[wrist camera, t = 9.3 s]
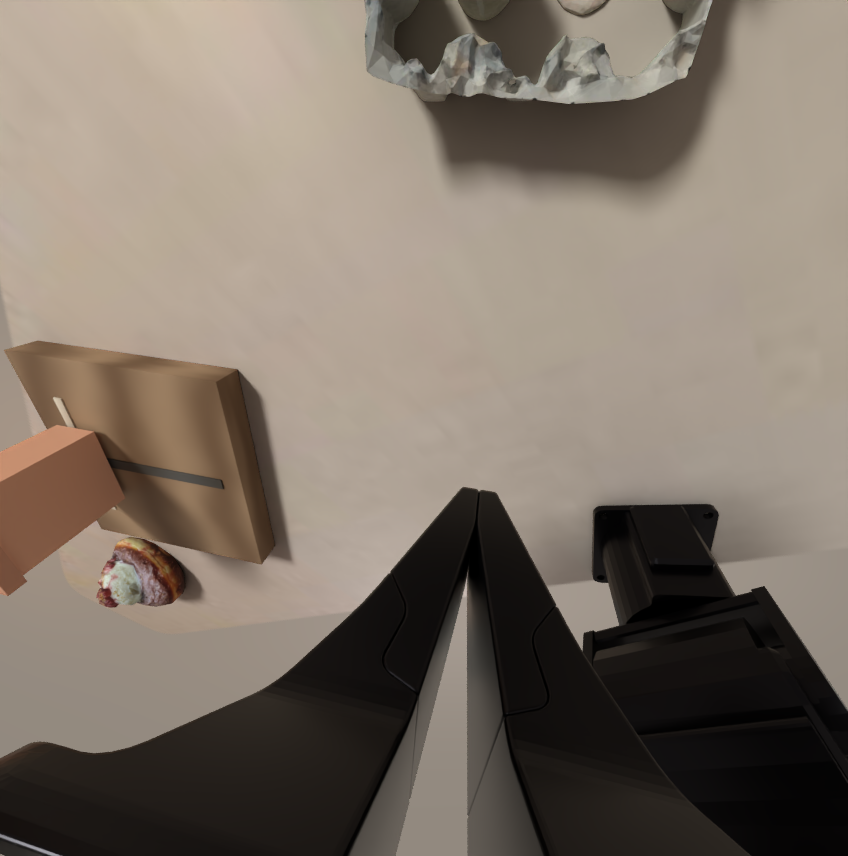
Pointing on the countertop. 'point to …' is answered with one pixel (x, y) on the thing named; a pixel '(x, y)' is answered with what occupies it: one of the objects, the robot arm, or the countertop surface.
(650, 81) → the egg carton
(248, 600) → the countertop surface
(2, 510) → the handle
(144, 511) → the fader track
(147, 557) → the pastry
